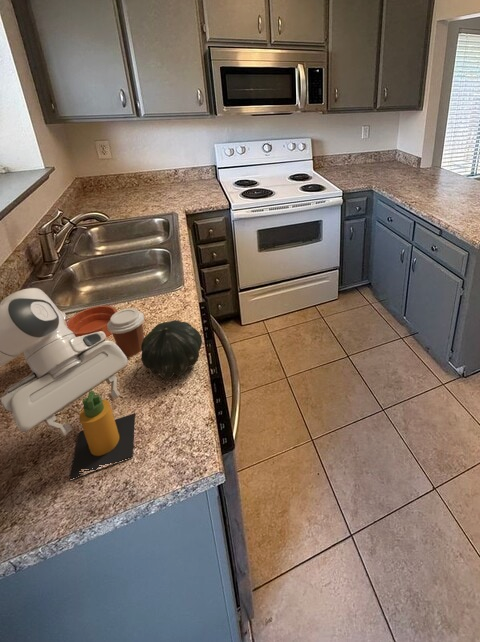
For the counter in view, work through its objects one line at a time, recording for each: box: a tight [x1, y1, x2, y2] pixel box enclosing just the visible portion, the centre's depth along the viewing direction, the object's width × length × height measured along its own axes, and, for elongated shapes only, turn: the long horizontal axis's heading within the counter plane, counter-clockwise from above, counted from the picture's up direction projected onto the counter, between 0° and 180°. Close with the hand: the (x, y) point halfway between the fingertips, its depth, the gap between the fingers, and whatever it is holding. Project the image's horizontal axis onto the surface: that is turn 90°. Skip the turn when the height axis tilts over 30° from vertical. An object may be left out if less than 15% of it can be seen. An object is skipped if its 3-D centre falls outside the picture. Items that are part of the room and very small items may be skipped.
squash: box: [141, 319, 203, 380], centre depth 95 cm, size 14×15×15 cm
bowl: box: [67, 304, 118, 338], centre depth 109 cm, size 13×13×4 cm
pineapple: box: [78, 390, 119, 456], centre depth 73 cm, size 5×5×13 cm
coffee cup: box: [107, 307, 145, 358], centre depth 100 cm, size 9×9×12 cm
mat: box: [68, 412, 136, 481], centre depth 76 cm, size 11×11×1 cm
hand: (93, 415), depth 73 cm, fingers open, 8 cm apart
